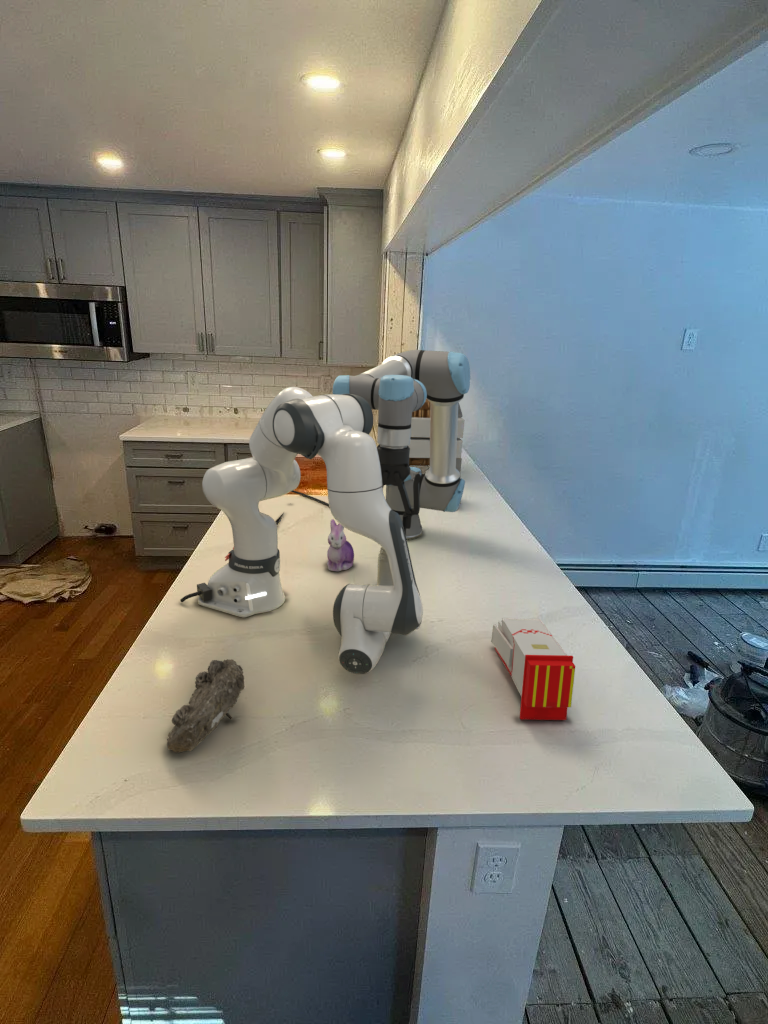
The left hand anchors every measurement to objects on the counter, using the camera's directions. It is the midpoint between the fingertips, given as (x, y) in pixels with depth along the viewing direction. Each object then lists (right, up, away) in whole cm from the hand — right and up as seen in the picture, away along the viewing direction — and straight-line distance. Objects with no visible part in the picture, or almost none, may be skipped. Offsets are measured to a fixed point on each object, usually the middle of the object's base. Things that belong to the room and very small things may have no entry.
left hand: (386, 596), depth 143 cm
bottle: (0, -6, +1) cm, 6 cm away
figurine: (-14, +5, +30) cm, 34 cm away
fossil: (-33, -18, -35) cm, 51 cm away
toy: (+30, -15, -19) cm, 39 cm away
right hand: (+1, +15, -6) cm, 16 cm away
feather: (-39, +20, +68) cm, 81 cm away
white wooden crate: (+17, +40, +132) cm, 139 cm away
